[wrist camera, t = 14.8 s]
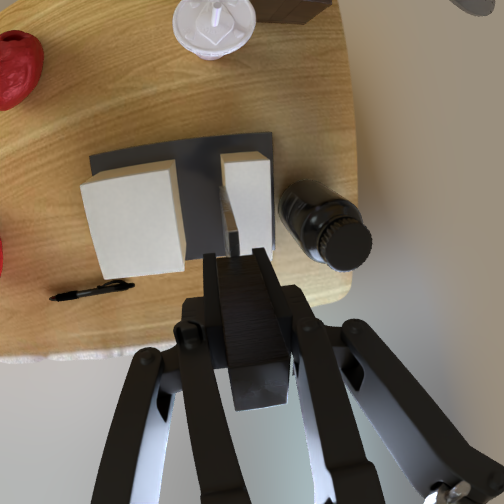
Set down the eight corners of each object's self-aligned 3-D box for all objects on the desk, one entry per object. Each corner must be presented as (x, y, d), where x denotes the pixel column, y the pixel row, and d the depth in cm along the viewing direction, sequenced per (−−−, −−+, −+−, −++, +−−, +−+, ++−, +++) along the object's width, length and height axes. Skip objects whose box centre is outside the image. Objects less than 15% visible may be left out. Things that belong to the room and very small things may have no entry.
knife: (235, 184, 25) (292, 327, 9) (239, 247, 28) (286, 420, 12) (209, 187, 25) (222, 337, 9) (215, 250, 27) (238, 428, 12)
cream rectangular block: (258, 151, 30) (270, 159, 25) (261, 236, 35) (272, 260, 30) (220, 154, 30) (224, 163, 25) (227, 240, 34) (232, 265, 29)
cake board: (270, 131, 30) (272, 132, 30) (273, 246, 37) (275, 250, 36) (91, 154, 28) (88, 156, 27) (115, 264, 34) (113, 268, 34)
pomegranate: (54, 97, 24) (10, 97, 16) (-5, 120, 23) (-52, 130, 14) (55, 23, 19) (16, 4, 11) (-6, 51, 18) (-49, 47, 10)
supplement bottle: (298, 242, 37) (335, 296, 27) (265, 202, 34) (296, 247, 24) (340, 208, 36) (392, 251, 25) (311, 166, 33) (361, 195, 22)
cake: (174, 159, 29) (168, 169, 24) (186, 244, 34) (184, 271, 29) (99, 171, 28) (79, 185, 23) (117, 253, 33) (104, 279, 28)
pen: (132, 275, 35) (130, 279, 34) (136, 286, 36) (135, 291, 35) (48, 290, 34) (45, 295, 33) (52, 300, 35) (50, 304, 34)
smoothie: (181, 74, 26) (164, 45, 14) (179, 22, 23) (166, -35, 11) (242, 70, 27) (271, 40, 15) (240, 18, 24) (266, -38, 12)
